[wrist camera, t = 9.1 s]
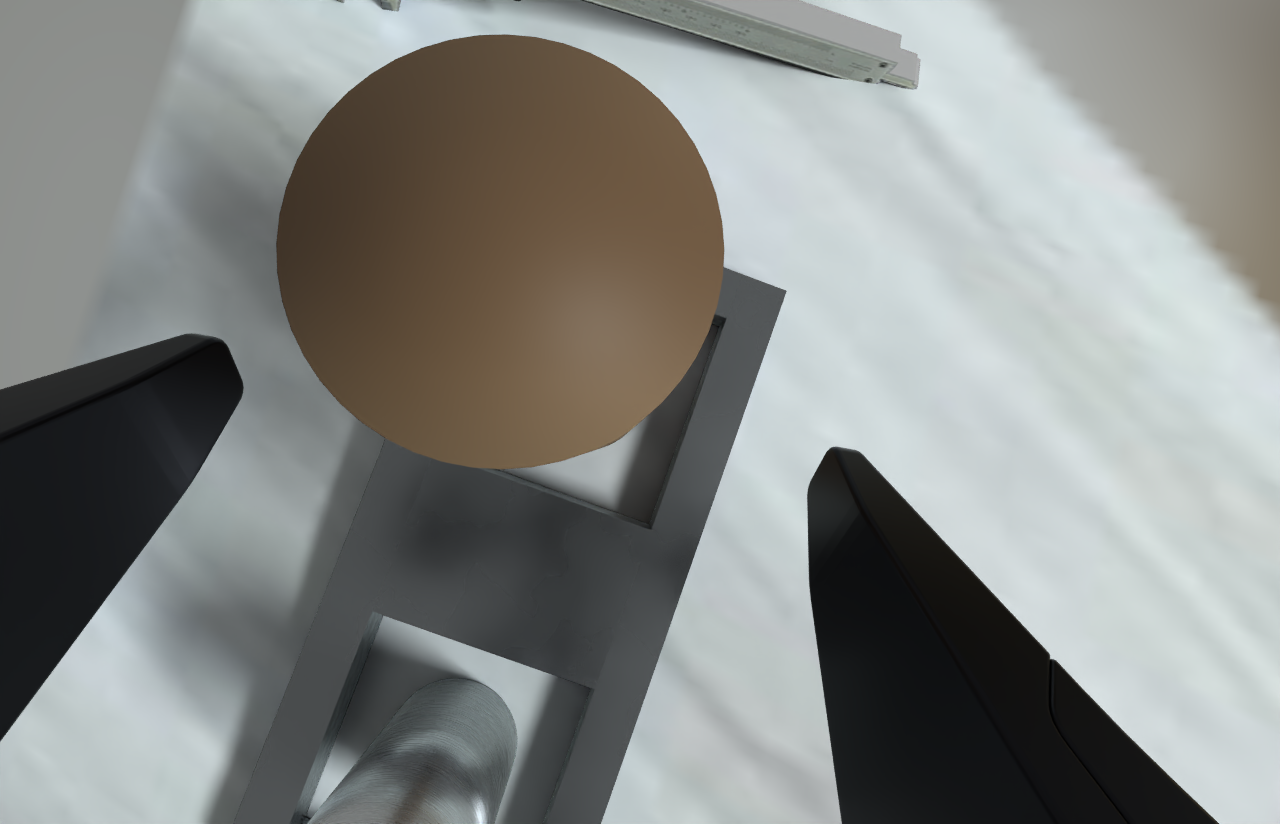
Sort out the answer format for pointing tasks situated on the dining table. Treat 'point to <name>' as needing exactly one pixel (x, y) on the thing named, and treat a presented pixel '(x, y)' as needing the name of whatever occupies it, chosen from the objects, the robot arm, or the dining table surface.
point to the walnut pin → (500, 251)
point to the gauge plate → (519, 582)
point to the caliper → (782, 35)
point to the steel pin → (432, 762)
